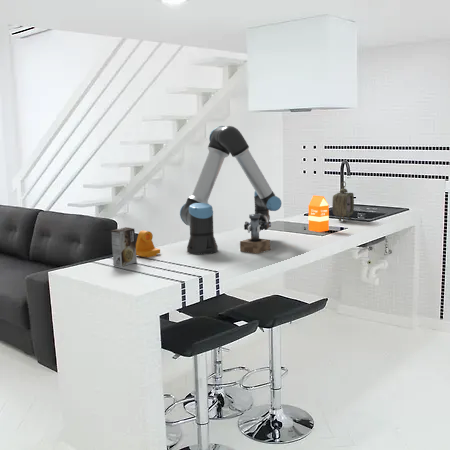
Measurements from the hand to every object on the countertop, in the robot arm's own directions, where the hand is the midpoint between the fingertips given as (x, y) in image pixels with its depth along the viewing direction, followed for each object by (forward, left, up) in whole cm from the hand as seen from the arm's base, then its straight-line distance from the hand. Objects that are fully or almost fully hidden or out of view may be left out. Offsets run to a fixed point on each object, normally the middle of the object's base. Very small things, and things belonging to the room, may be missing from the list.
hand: (253, 229), depth 280 cm
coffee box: (-56, -26, -11) cm, 63 cm away
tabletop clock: (+43, +95, -11) cm, 105 cm away
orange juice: (+29, +62, -11) cm, 70 cm away
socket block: (0, +5, -11) cm, 12 cm away
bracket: (-51, -8, -12) cm, 53 cm away
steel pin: (0, +5, -9) cm, 11 cm away
